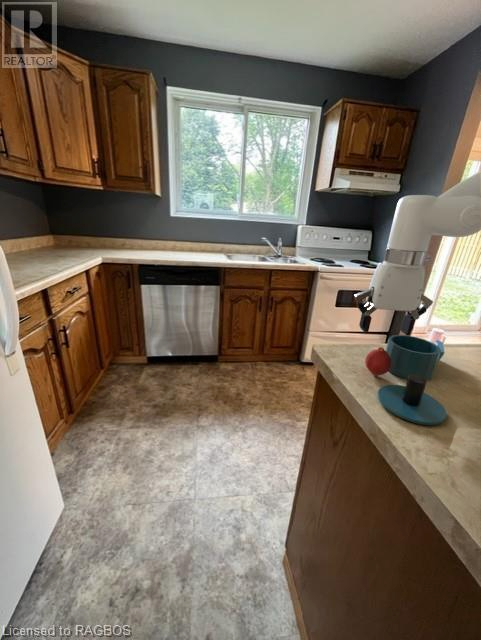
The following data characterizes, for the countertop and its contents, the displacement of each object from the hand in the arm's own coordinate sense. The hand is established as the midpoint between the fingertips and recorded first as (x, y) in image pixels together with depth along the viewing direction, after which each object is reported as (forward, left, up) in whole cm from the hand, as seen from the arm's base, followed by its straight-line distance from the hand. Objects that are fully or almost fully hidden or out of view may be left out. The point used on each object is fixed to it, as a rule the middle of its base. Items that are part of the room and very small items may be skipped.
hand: (384, 331), depth 64 cm
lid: (-2, +12, -11) cm, 17 cm away
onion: (0, 0, -12) cm, 12 cm away
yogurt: (-18, -8, -12) cm, 23 cm away
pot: (-10, -4, -12) cm, 16 cm away
